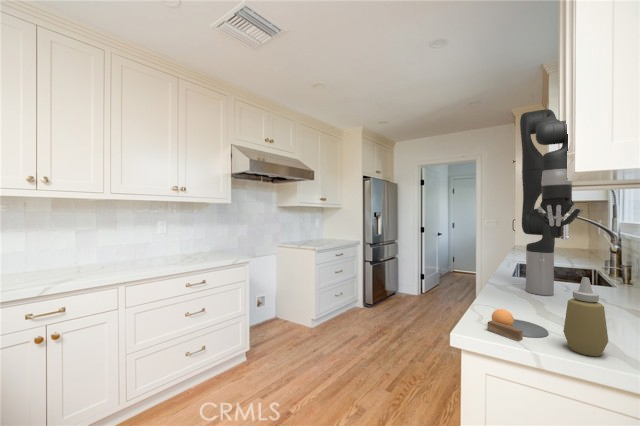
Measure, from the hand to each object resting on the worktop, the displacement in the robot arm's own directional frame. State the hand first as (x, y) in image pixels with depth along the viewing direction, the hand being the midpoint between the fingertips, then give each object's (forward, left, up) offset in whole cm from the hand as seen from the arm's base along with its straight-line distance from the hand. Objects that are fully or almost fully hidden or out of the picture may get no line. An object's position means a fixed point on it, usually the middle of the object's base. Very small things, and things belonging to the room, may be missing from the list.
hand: (556, 237), depth 93 cm
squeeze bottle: (+22, +13, -26) cm, 36 cm away
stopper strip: (+29, -2, -26) cm, 39 cm away
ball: (+25, -4, -23) cm, 34 cm away
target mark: (+20, -2, -26) cm, 33 cm away
